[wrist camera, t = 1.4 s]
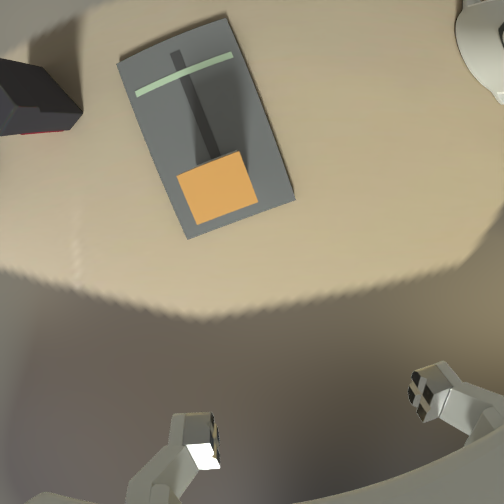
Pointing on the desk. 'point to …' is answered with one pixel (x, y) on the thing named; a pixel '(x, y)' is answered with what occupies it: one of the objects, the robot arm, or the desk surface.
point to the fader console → (204, 117)
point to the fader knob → (217, 187)
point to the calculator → (33, 101)
